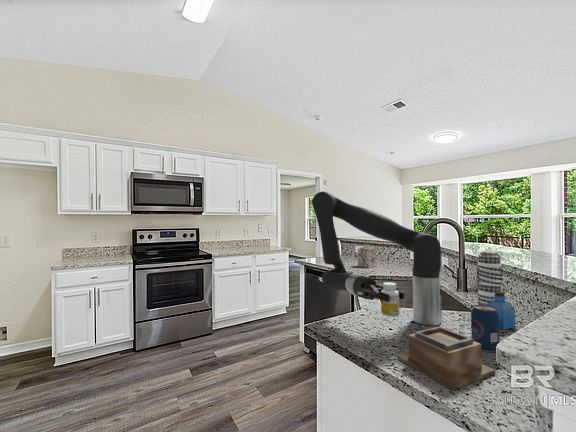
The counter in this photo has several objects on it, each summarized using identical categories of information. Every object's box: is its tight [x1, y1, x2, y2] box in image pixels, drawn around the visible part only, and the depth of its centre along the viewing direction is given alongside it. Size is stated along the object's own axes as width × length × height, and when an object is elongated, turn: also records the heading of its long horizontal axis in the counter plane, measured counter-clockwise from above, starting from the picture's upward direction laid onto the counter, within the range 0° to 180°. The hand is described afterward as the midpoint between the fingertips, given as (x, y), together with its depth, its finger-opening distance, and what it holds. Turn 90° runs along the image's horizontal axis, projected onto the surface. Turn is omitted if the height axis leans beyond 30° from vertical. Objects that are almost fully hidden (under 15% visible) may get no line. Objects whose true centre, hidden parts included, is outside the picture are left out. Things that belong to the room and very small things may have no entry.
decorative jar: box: [357, 244, 378, 268], centre depth 239 cm, size 12×12×18 cm
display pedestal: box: [397, 325, 496, 391], centre depth 74 cm, size 16×16×8 cm
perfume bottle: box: [487, 290, 516, 330], centre depth 103 cm, size 6×6×12 cm
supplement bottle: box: [380, 281, 401, 318], centre depth 89 cm, size 5×5×10 cm
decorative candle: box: [476, 250, 504, 306], centre depth 118 cm, size 9×9×25 cm
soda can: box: [470, 304, 501, 353], centre depth 85 cm, size 7×7×12 cm
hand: (396, 297), depth 87 cm, fingers closed on supplement bottle, 5 cm apart
